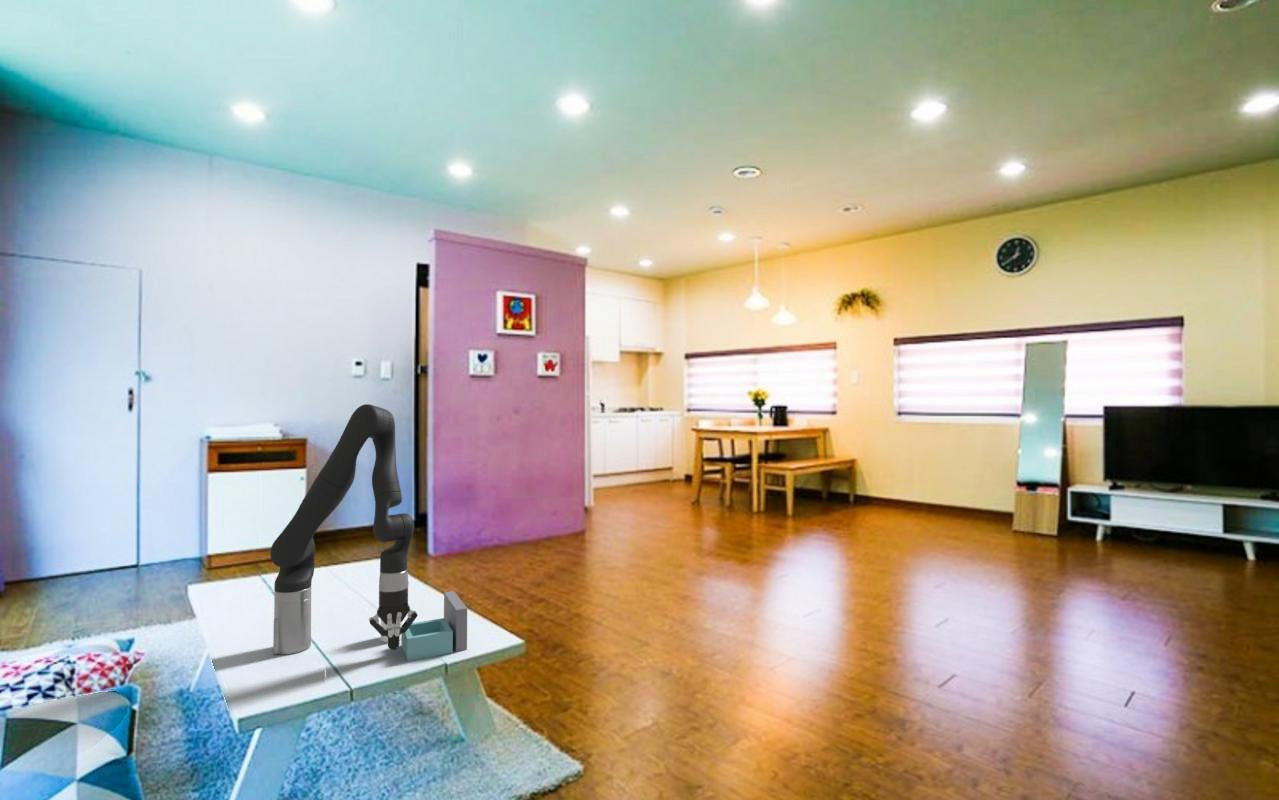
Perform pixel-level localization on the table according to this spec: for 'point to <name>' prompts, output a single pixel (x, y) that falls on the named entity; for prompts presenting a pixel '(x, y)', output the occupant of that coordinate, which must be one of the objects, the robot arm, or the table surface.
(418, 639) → the socket block
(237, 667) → the table surface
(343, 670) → the table surface
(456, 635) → the wall board
